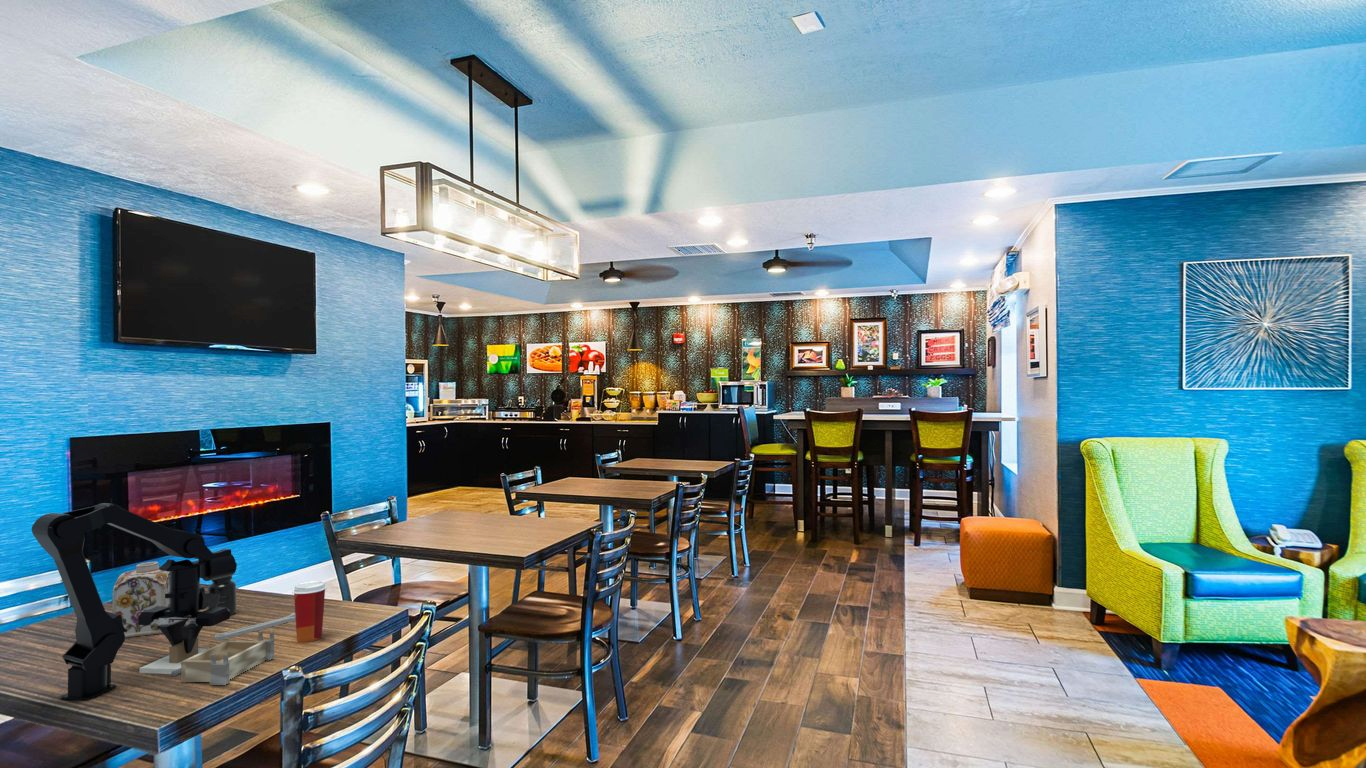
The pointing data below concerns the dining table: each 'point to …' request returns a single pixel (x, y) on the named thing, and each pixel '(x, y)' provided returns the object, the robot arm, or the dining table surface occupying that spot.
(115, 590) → the decorative jar
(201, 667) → the cabinet
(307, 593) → the paper cup
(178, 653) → the cabinet door
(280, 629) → the dining table surface
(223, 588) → the supplement bottle
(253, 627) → the adjustable wrench
